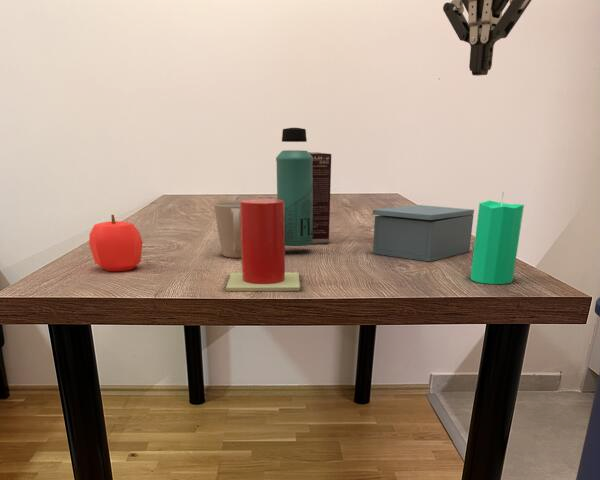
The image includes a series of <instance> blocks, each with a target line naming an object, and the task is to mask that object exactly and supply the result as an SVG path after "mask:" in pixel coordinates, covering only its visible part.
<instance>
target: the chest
mask: <svg viewBox="0 0 600 480" xmlns="http://www.w3.org/2000/svg"><path fill="white" fill-rule="evenodd" d="M473 224H474V214H473V215H466V216H458V217H451V218H444V219H437V220H423V219H413V218H403V217H393V216H383V215H375V216H374V227H373V243H372V244H373V245H372V247H373V248H372V254H375V255H381V256H389V257H395V258H401V259H410V260H415V261H422V262H430V263H431V262H435V261H438V260H442V259H446V258H449V257H450V258H451V257H453V256H457V255H461V254H466V253H468V252H470V250H471V241H472V233H473Z"/></svg>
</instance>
